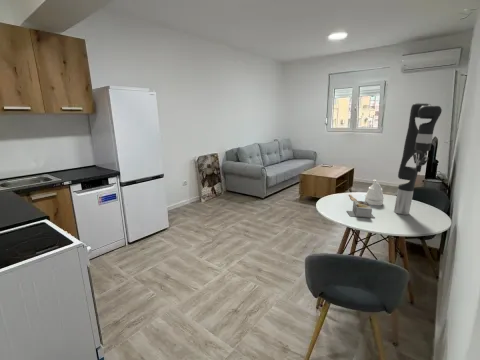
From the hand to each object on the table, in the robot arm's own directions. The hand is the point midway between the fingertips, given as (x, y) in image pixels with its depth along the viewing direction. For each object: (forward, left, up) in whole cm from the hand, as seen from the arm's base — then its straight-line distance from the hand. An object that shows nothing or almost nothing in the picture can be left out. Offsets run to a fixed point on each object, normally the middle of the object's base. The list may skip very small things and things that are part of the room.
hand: (417, 171), depth 153 cm
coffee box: (-10, -23, -31) cm, 40 cm away
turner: (-54, -18, -35) cm, 67 cm away
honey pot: (-46, -4, -35) cm, 58 cm away
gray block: (-16, -23, -35) cm, 45 cm away
